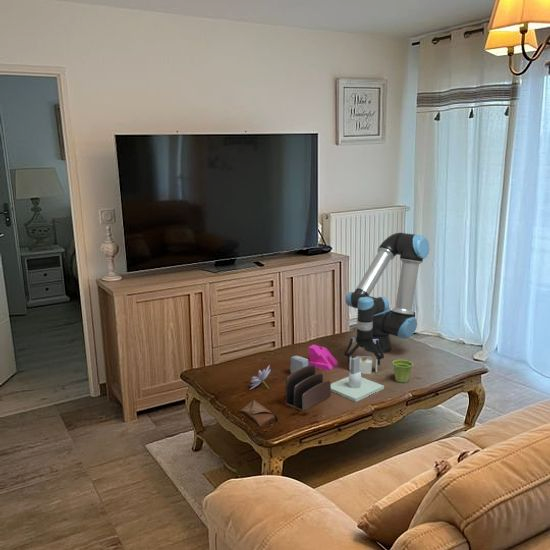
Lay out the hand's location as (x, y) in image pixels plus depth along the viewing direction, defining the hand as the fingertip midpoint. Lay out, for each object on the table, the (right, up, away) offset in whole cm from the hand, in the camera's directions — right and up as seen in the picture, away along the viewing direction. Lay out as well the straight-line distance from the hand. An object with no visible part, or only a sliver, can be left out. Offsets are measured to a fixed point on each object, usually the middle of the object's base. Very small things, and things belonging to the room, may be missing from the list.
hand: (363, 370), depth 281 cm
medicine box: (-32, -2, -5) cm, 32 cm away
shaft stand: (-7, -5, -21) cm, 23 cm away
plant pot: (+16, -3, -12) cm, 20 cm away
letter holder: (-29, -8, -32) cm, 44 cm away
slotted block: (0, 0, 0) cm, 0 cm away
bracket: (-19, +1, +7) cm, 21 cm away
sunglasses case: (-51, -12, -46) cm, 70 cm away
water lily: (-51, -5, -18) cm, 54 cm away
